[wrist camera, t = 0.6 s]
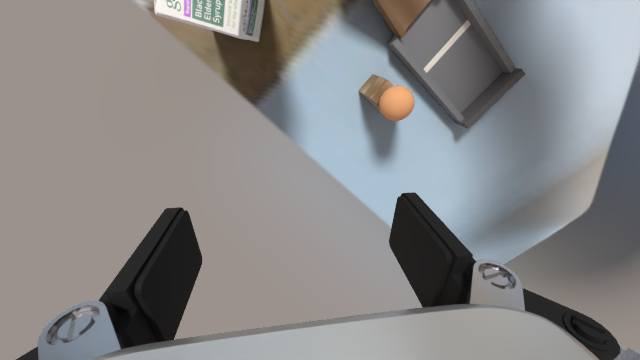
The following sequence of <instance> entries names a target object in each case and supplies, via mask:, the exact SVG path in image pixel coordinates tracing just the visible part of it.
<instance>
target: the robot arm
mask: <svg viewBox="0 0 640 360" xmlns="http://www.w3.org/2000/svg"><path fill="white" fill-rule="evenodd" d="M389 243H390V247H391V249H392V251H393V253H394V255H395V256H396V258H397V260H398V262H399V264H400V266H401V268H402V270H403V271H404V273H405V275H406V277H407V279H408V281H409V283H410V284H411V286H412V288H413V290H414V291H415V293H416V295H417V297H418V299H419V301H420V303H421V305H422V307H423V308H415V309H407V310H399V311H390V312H382V313H374V314H366V315H358V316H350V317H342V318H334V319H327V320H318V321H310V322H302V323H294V324H286V325H280V326H271V327H263V328H256V329H249V330H241V331H233V332H226V333H218V334H211V335H204V336H197V337H190V338H184V339H176V340H174V337H175V335H176V332H177V329H178V327H179V324H180V321H181V319H182V316H183V313H184V310H185V308H186V305H187V302H188V300H189V297H190V294H191V292H192V289H193V286H194V284H195V281H196V278H197V276H198V273H199V270H200V268H201V265H202V255H201V252H200V249H199V246H198V242H197V239H196V236H195V232H194V229H193V226H192V222H191V219H190V216H189V213H188V211H184V210H183V208H167V209H165V210H164V212H163V213H162V215H161V216H160V217H159V219H158V220H157V221H156V223H155V224H154V225H153V227H152V228H151V230H150V231H149V232H148V234H147V235H146V237H145V238H144V239H143V240H142V242H141V243H140V245H139V246H138V247H137V249H136V250H135V252H134V253H133V254H132V256H131V257H130V258H129V260H128V261H127V262H126V264H125V265H124V267H123V268H122V269H121V271H120V272H119V274H118V275H117V276H116V277H115V279H114V280H113V282H112V283H111V284H110V286H109V287H108V288H107V290H106V291H105V293H104V294H103V295H102V297H101V298H100V300H99V301H88V302H84V303H80V304H78V305H76V306H73V307H71V308H69V309H67V310H66V311H64V312H62V313H61V314H59V315H58V316H57V317H56V318H54V319H53V320H52V321H51V322H50V323H49V324H48V325H47V326H46V327H45V328H44V330H43V331H42V333H41V334H40V336H39V339H38V347H36V348H35V349H33V350H31V351H30V352H28V353H26V354H25V355H23V356H21V357H20V358H18V359H16V360H640V354H638V353H636V352H635V351H633V350H631V349H630V348H628V349H627V350H623V349H621V348H620V346H619V344H618V342H617V340H616V339H615V338H614V337H613V336H612V334H611V333H610V332H609V331H608V330H607V329H605V328H604V327H603V326H602V325H601V324H599V323H598V322H596V321H595V320H593V319H591V318H589V317H587V316H586V315H584V314H581V313H579V312H577V311H575V310H572V309H570V308H567V307H565V306H563V305H560V304H558V303H556V302H553V301H551V300H549V299H546V298H544V297H542V296H540V295H537V294H535V293H533V292H530V291H528V290H526V289H523V288H522V283H521V281H520V279H519V278H518V277H517V275H516V274H515V273H514V272H512V270H510V269H509V268H507V267H506V266H504V265H502V264H500V263H497V262H494V261H491V260H479V261H477V262H476V261H475V260H474V259H473V258H472V256H473V255H472V254H471V253H470V251H469V250H468V249H467V248H466V247H465V246H464V245H463V244H462V243H461V242H460V241H459V239H458V238H457V237H456V236H455V235H454V234H453V233H452V232H451V231H450V230H449V229H448V228H447V226H446V225H445V224H444V223H443V222H442V221H441V220H440V219H439V218H438V217H437V216H436V214H435V213H434V212H433V211H432V210H431V209H430V208H429V207H428V206H427V205H426V204H425V203H424V201H423V200H422V199H421V198H420V197H419V196H418V195H417V194H416V193H403V194H401V196H400V197H398V198H397V203H396V208H395V213H394V218H393V223H392V229H391V234H390V239H389Z"/></svg>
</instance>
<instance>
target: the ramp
mask: <svg viewBox="0 0 640 360" xmlns="http://www.w3.org/2000/svg"><path fill="white" fill-rule="evenodd" d="M372 1H373V3H374V4H375V6H376V7H377V9H378V11H379V12H380V14H381V15H382V17H383V18H384V20H385V21H386V23H387V24H388V26H389V27H390V29H391V30H392V32H393V33H394V35H395V36H396V37H399V38H403V36H404V35H405V34H406V33H407V32H406V31H405V30H406V29H407V28H408V27H409V25H410V24H411V23H412V22H413V21H414V19H415V18H416V17H417V16H418V15H419V13H420V12H421V11H422V10H423V8H424V7H425V6H426V5H427V4H428V2H429V1H430V0H372Z"/></svg>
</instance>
